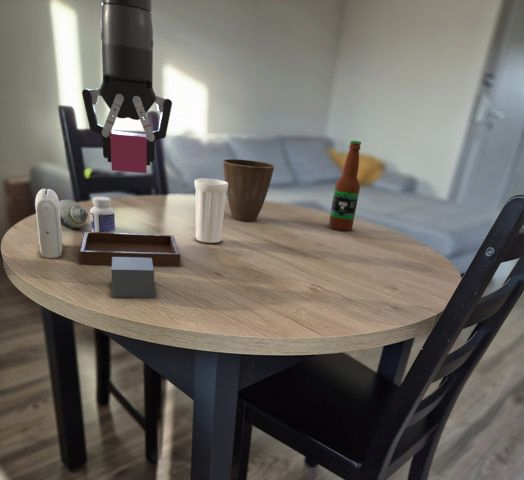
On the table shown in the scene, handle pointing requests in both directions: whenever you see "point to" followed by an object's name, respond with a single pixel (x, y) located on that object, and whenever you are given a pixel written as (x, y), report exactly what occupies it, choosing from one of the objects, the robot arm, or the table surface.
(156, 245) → the tray
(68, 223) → the seashell
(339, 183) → the bottle
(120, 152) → the pink block
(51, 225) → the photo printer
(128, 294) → the grey block
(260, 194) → the flower pot
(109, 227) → the pill bottle
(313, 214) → the table surface
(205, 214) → the cup
